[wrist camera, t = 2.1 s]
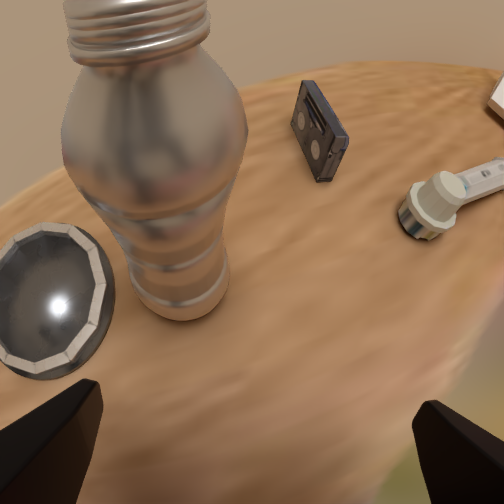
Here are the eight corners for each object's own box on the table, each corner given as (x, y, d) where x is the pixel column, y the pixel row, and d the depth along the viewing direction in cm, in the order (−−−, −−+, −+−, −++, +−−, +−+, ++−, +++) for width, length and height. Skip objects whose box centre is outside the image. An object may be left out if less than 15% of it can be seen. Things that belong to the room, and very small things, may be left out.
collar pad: (48, 415, 17) (39, 415, 16) (-33, 305, 19) (-41, 300, 18) (149, 284, 22) (146, 277, 21) (52, 201, 25) (46, 193, 23)
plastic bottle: (176, 229, 25) (146, -46, 7) (246, 278, 23) (318, -21, 6) (121, 289, 22) (-21, 26, 4) (192, 347, 21) (96, 51, 3)
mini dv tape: (330, 182, 29) (352, 136, 23) (316, 183, 28) (335, 136, 23) (303, 124, 32) (316, 80, 27) (290, 124, 32) (302, 79, 27)
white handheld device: (526, 176, 30) (463, 207, 20) (499, 204, 36) (416, 251, 26) (504, 147, 32) (424, 156, 22) (479, 176, 38) (385, 204, 28)
